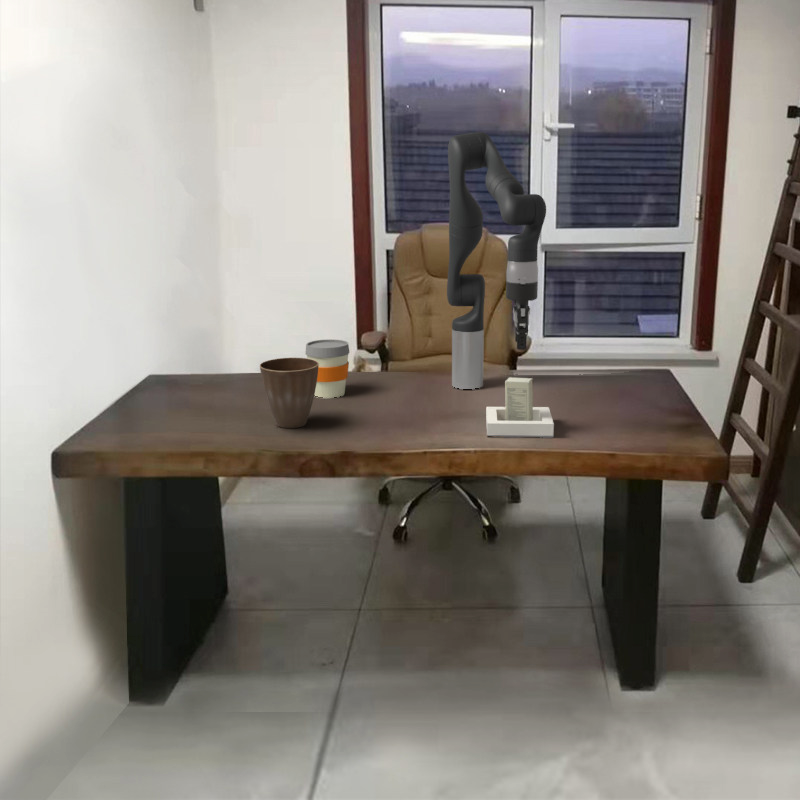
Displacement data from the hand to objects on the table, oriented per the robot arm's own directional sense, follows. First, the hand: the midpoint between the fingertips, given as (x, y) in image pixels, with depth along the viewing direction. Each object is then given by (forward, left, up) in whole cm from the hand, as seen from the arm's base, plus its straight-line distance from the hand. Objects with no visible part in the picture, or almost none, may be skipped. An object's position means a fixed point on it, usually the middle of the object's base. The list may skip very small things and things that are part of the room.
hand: (520, 345), depth 221 cm
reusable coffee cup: (-32, -53, -22) cm, 66 cm away
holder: (0, 0, -21) cm, 21 cm away
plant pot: (-2, -58, -22) cm, 62 cm away
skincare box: (0, 0, -21) cm, 21 cm away
